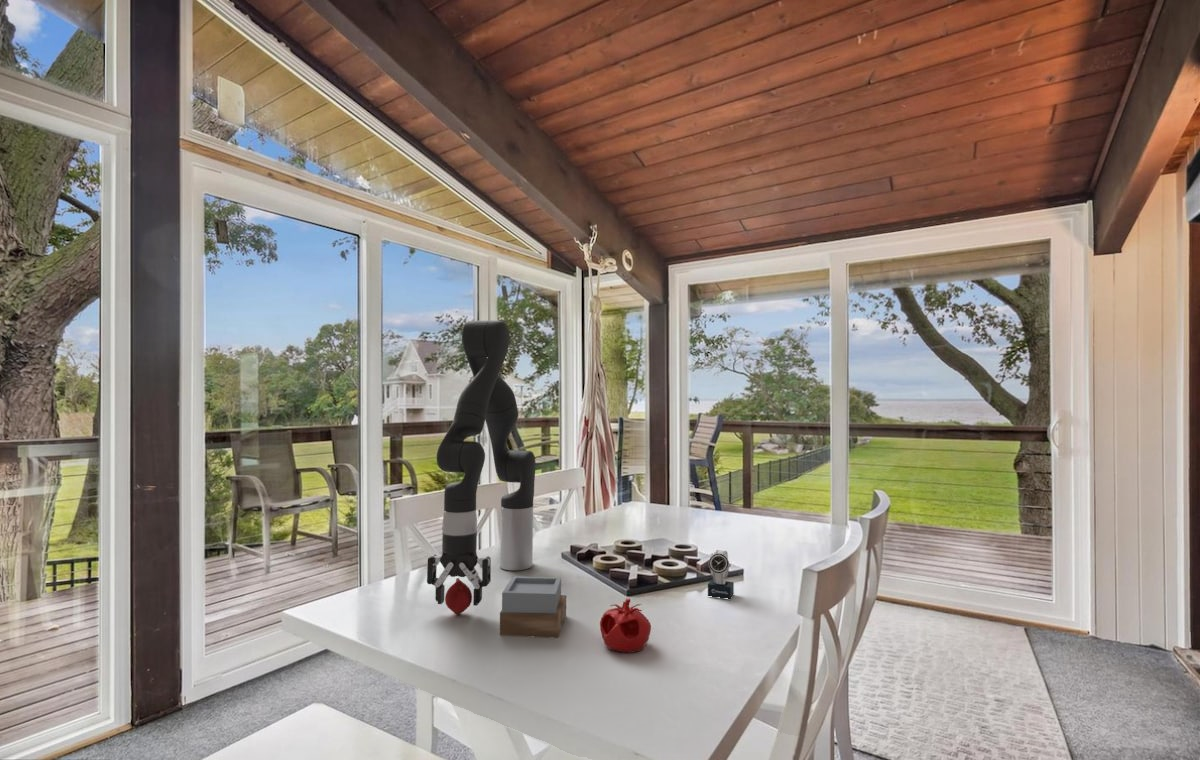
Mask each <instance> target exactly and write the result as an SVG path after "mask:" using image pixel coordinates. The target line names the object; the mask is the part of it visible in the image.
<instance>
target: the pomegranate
mask: <svg viewBox="0 0 1200 760" xmlns="http://www.w3.org/2000/svg"><path fill="white" fill-rule="evenodd" d="M630 603H631V598H625V601H622V606H620V605H618V604H616V603H615V604H612V605H610V607H613V606H615V608H610V609H608V610H606V611H605V612H604V613H603V614H602V616H601V618H600V622H599V627H600V633H601V638H602V640H603V644H604V645H605V646H606V647H607V648H609V649H610V650H612V651H618V652H621V653H634V652H638V651H641V650H643V649H644V647H645V644H646V643H648V641H649V639H650V635H651V630H652V625H651V622H650V620H649V619H648V618H647V617H646V616H645V615H644V613H642V611H643V609H639V608H638V606H641V605H642V603H637V604H635V605H633V606H630Z"/></svg>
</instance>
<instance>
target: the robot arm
mask: <svg viewBox="0 0 1200 760" xmlns="http://www.w3.org/2000/svg"><path fill="white" fill-rule="evenodd" d="M510 339H511V336H510V329H509V327H508V325H507V324H506V322H505V321H503V320H495V319H493V320H489V319H488V320H486V319H485V320H470V321H466V322H465V323H464V324H463V325H462V329H461V343H462V347H463V351H464V353H465V356H466V359H467V360H466V361H467V363H468V365H469V367H470V370H471V372H472V376H473V378H472V379H471V380H470V381H469V382H468V384H467V385H466V386H465V387H464V389H463V390H462V392H461V393H460V395H459V398H458V401H457V405H456V409H455V412H454V413H455V414H454V417H453V421H452V423H451V424H450V426H449V428H448V430H447V432H446V434H445V435H444V437H443V439H442V440H441V442H440V444H439V446H438V448H437V452H436V463H437V466H438V468H439V469H440V470H441V471H442V472H447V473H461V474H462V473H463V474H464V476H463V478H462V480H461V481H457V482H456V481H455V482H453V483H449V484H447V485H446V486H445V488H444V494H443V495H444V498H443V499H444V500H443V517H442V526H441V531H442V534H441V535H442V540H441V541H442V542H441V543H442V544H441V551H442V552H441V553H442V554H441V556H437V554H433V555H430V556H429V557H428V558H427V571H426V573H427V574H426V582H427V584H428V585H432V586H434V588H435V599H434V600H435V601H436V602H437V604H438V605H442V604H443V603H444V602H445V587H446V586H445V584H444V583H445V582H446V580H447V578H448V577H449V576H450V577H452V578H454V577H458V578H465V577H466V578H467V580H468V581H469V582H470V583H471V584H472V585H473V587H474V588H473V597H472V601H473V602H472V603H473V606H475V607H476V606H478V605H479V604H480V603H481V602H482V599H483V587H487V586H488V585H489V584H490V583H491V581H492V580H491V579H492V578H491V577H492V576H491V575H492V574H491V572H492V571H491V569H492V567H491V566H492V565H491V557H490V556H489V555H487V556H485V557H478V555H477V543H478V541H477V540H478V538H477V536H478V518H477V491H478V486H479V483H480V482H479V481H480V478H481V473H482V472H483V467H484V464H485V460H486V453H485V449H484V447H483V445H482V444H481V443H480V442H478V441H473V440H472V441H469V440H468V441H467V440H466V439H468V438H470V437H475V436H477V435H480V434H481V433H483V430H484V426H485V424H486V428H487V431H488V435H489V439H490V444H491V449H492V454H493V455H492V456H493V463H494V468H495V474H496V476H497V478H498V479H499V480H500V481H501V482H503V483H504V482H505V483H515V484H516V483H519V484H520V485H519V488H518V489H517V490H515V491H513V492H510V493H507V494H504V495H503V496H502V497H501V499H500V543H499V544H500V550H499V552H500V553H499V556H500V558H499V567H500V568H501V569H502V570H506V571H514V572H515V571H524V570H528V569H530V568H532V567H533V555H534V554H533V551H534V547H533V546H534V545H533V543H534V542H533V541H534V540H533V539H534V496H535V482H536V481H535V480H536V479H535V478H536V456H535V454H534V452H533V451H531V450H524V449H523V450H519V449H518V450H516V449H515V450H514V449H509V447H508V439H509V436H510V434H511V433H512V431H513V430H514V428H515V425H516V423H517V421H518V418H519V408H518V404H517V401H516V395H515V393H514V391H513V388H511V387H510V385H509V384H508V383H507V382H506V381H505V380H504V379H503V378H502V377H501V376H500V372H501V370H502V368H503V365H504V361H505V359H506V357H507V354H508V352H509V347H510ZM485 422H486V423H485ZM439 564H441V566H442V567H443V571H442V572H441V573H440V575H439V577H437V567H438V566H439ZM478 564H479V567H480V568H481V570H482V571H481V573H482V576H481V577H482V578H481V577H480V576H479V572H478V570H477V569H476V566H477V565H478Z"/></svg>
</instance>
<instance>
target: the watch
mask: <svg viewBox="0 0 1200 760" xmlns="http://www.w3.org/2000/svg"><path fill="white" fill-rule="evenodd" d="M708 568H709V570H710V574H711V576H712V578H711V579H710V581H709V582H708V584H707V597H708V596H712V597H720V598H728V599H731V600H732V598H733V597H732V595H733V594H734V593H735V591H734V582H733V581H728V580H727V579H728V575H729V568H732V564H731V563H729V555H728V551H727V550H719V549H718V550H717V549H716V551H714V552H713V553H712V555H711V556H710V558H709V560H708ZM733 596H734V595H733ZM731 597H732V598H731Z"/></svg>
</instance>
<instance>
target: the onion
mask: <svg viewBox="0 0 1200 760" xmlns="http://www.w3.org/2000/svg"><path fill="white" fill-rule="evenodd" d="M472 601H473V595H472V591H471V588H470V587H469V586H468V585H467V584H466V583H465V582H463V581H462V580H461V579H460V577H457V578H456V580H455V582H454V583H453V584H452V585H450V587H449V588H448V589H447V591H446V593H445V595H444V602H445V605H446V607H447V608H448V609H449V610H450V611H451V612H453V614H455V615H457V616H459V615H461V614H462V613H463V612H465V611H466V610H467V609H468V608H469V607H470V606H471V604H472V603H473V602H472Z"/></svg>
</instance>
